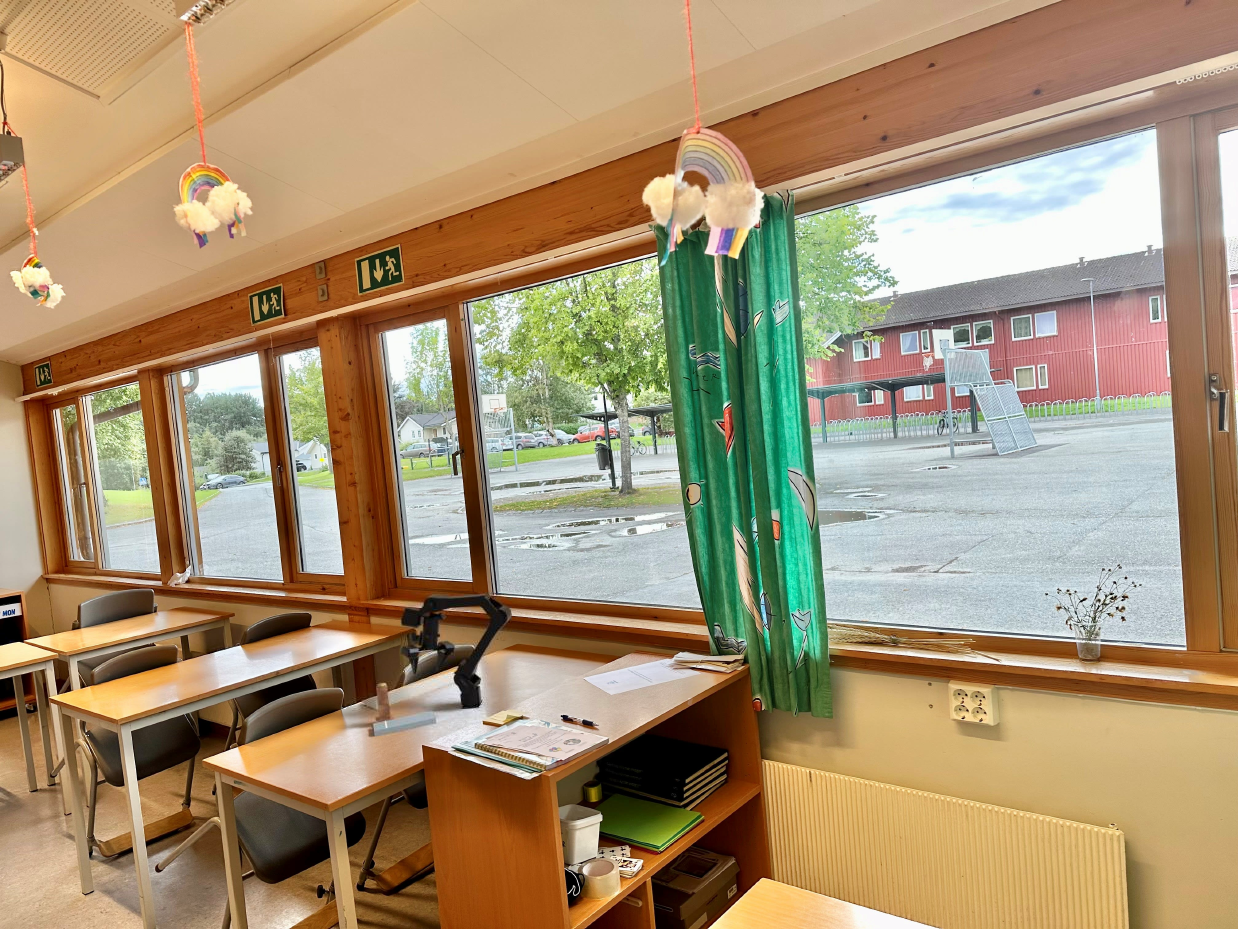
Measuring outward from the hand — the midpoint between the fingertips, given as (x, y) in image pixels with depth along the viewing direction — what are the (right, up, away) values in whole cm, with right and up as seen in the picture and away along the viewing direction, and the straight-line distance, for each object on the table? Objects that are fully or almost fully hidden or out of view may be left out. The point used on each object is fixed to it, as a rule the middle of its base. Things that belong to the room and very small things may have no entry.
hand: (425, 672), depth 276 cm
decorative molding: (-11, -14, +20) cm, 27 cm away
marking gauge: (-11, -15, -11) cm, 22 cm away
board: (-3, -14, -16) cm, 21 cm away
